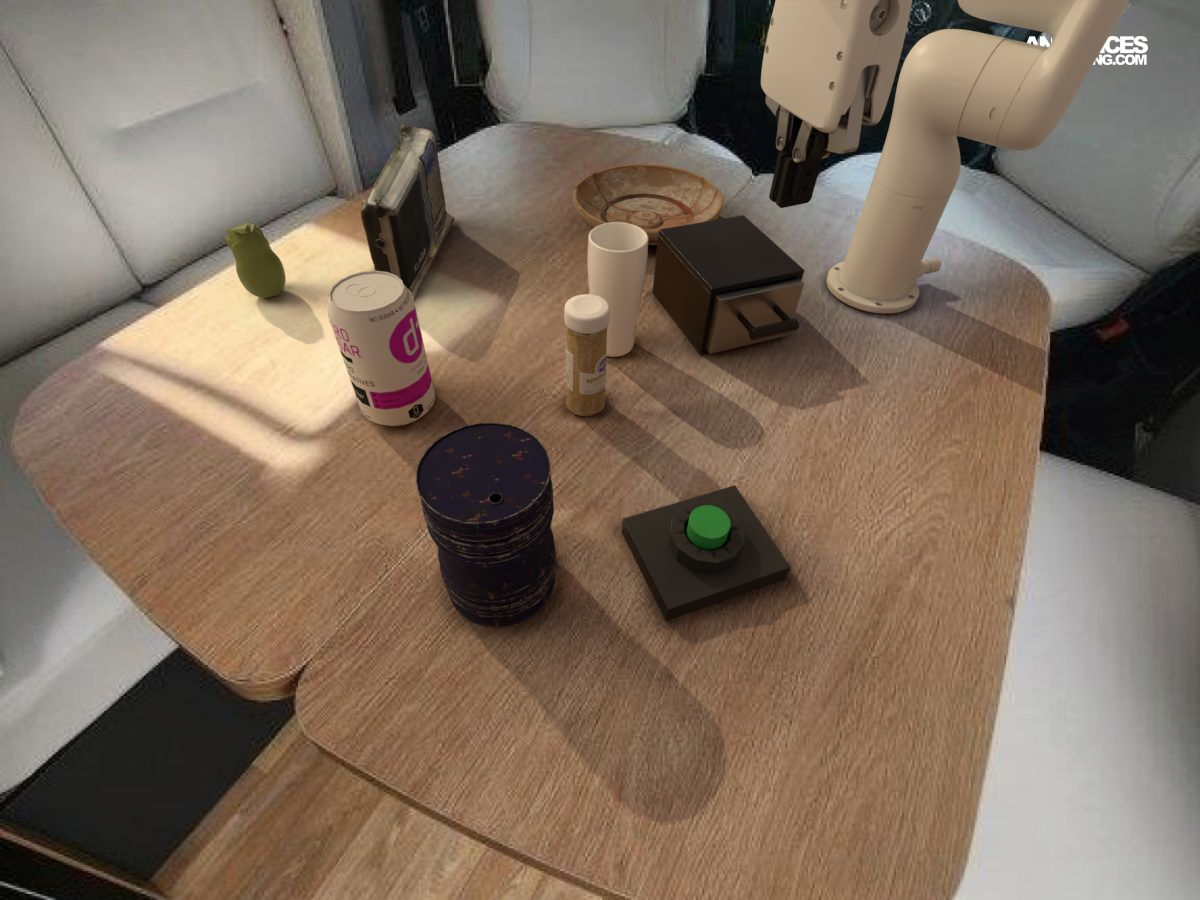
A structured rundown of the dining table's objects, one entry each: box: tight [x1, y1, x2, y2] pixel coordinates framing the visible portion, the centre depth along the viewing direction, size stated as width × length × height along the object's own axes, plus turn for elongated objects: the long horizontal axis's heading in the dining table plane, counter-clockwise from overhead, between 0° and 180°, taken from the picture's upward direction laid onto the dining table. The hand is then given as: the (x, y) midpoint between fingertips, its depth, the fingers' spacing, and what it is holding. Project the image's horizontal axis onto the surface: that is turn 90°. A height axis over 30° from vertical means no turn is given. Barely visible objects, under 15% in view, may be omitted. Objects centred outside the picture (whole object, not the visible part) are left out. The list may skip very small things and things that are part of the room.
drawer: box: [706, 278, 805, 355], centre depth 79 cm, size 18×11×8 cm, turn 21°
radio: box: [360, 125, 455, 300], centre depth 87 cm, size 23×9×15 cm, turn 169°
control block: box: [621, 484, 792, 623], centre depth 57 cm, size 12×10×4 cm
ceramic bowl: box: [572, 163, 725, 246], centre depth 100 cm, size 23×24×5 cm
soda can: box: [326, 270, 436, 427], centre depth 66 cm, size 8×8×15 cm
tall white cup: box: [586, 222, 649, 358], centre depth 74 cm, size 7×7×15 cm
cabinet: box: [652, 214, 805, 356], centre depth 81 cm, size 15×13×10 cm
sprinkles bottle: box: [563, 293, 610, 417], centre depth 67 cm, size 5×5×13 cm
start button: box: [687, 505, 731, 550], centre depth 55 cm, size 4×4×2 cm
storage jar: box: [415, 422, 557, 629], centre depth 51 cm, size 10×10×15 cm
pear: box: [225, 221, 287, 299], centre depth 82 cm, size 6×5×10 cm
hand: (789, 200), depth 53 cm, fingers closed
